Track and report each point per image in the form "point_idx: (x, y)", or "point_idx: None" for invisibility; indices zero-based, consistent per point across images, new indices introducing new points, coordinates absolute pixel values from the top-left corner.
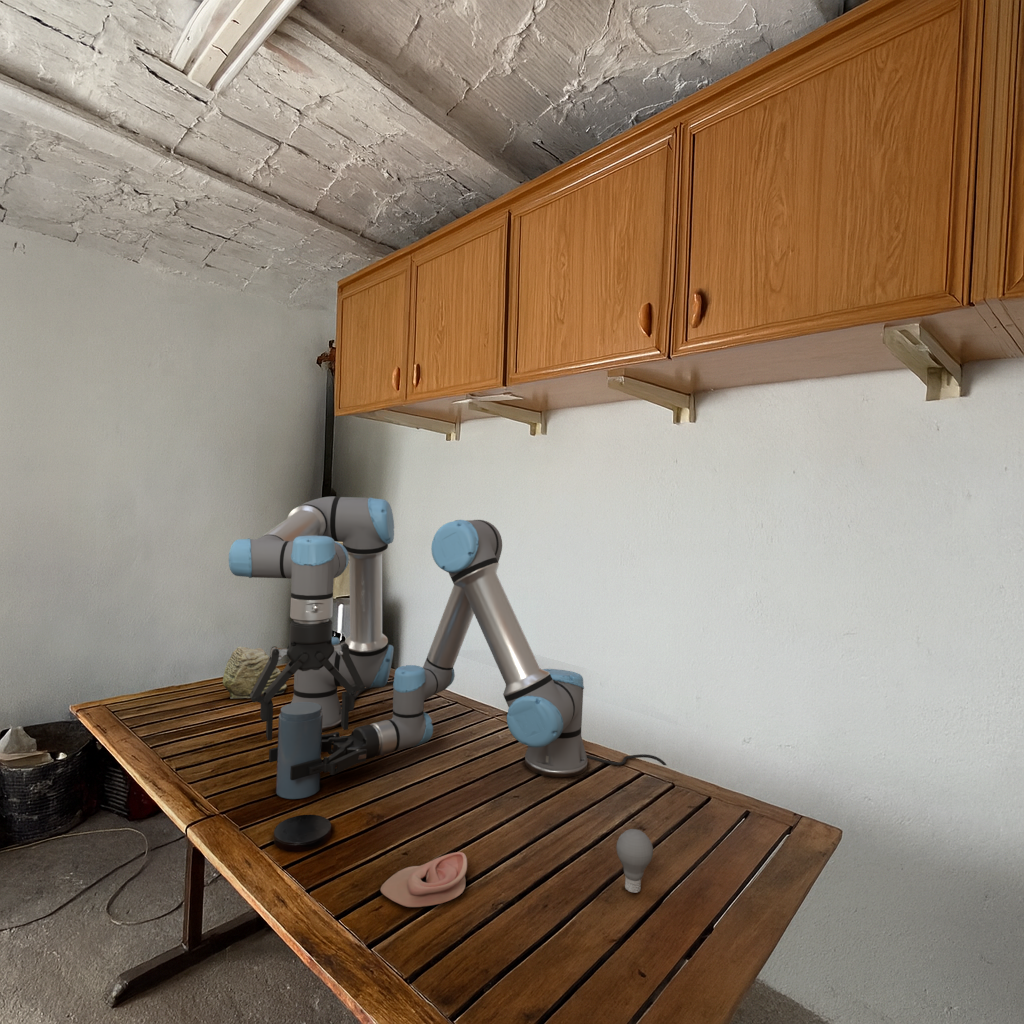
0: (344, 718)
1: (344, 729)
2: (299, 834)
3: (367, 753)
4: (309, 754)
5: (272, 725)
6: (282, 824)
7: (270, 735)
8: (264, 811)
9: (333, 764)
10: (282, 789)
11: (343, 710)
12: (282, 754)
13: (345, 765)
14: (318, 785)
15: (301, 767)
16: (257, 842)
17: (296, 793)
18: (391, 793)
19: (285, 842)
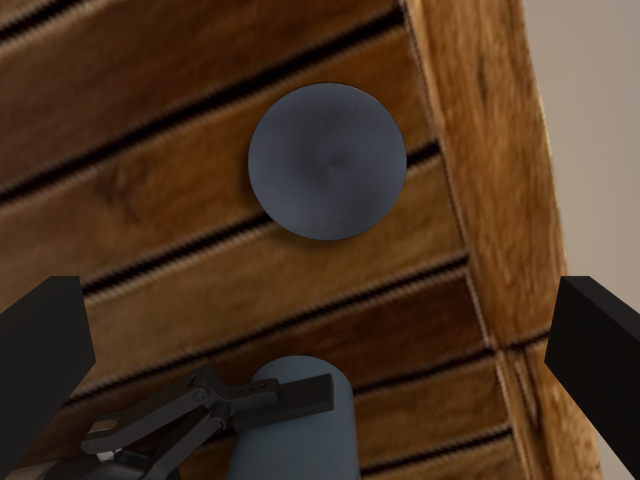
0: (29, 320)
1: (74, 279)
2: (342, 133)
3: (89, 457)
4: (269, 446)
5: (621, 329)
6: (376, 207)
7: (589, 290)
8: (396, 324)
9: (199, 386)
10: (344, 388)
11: (6, 395)
12: (352, 470)
13: (162, 394)
14: None
15: (300, 401)
16: (440, 179)
17: (311, 365)
18: None
19: (385, 108)
